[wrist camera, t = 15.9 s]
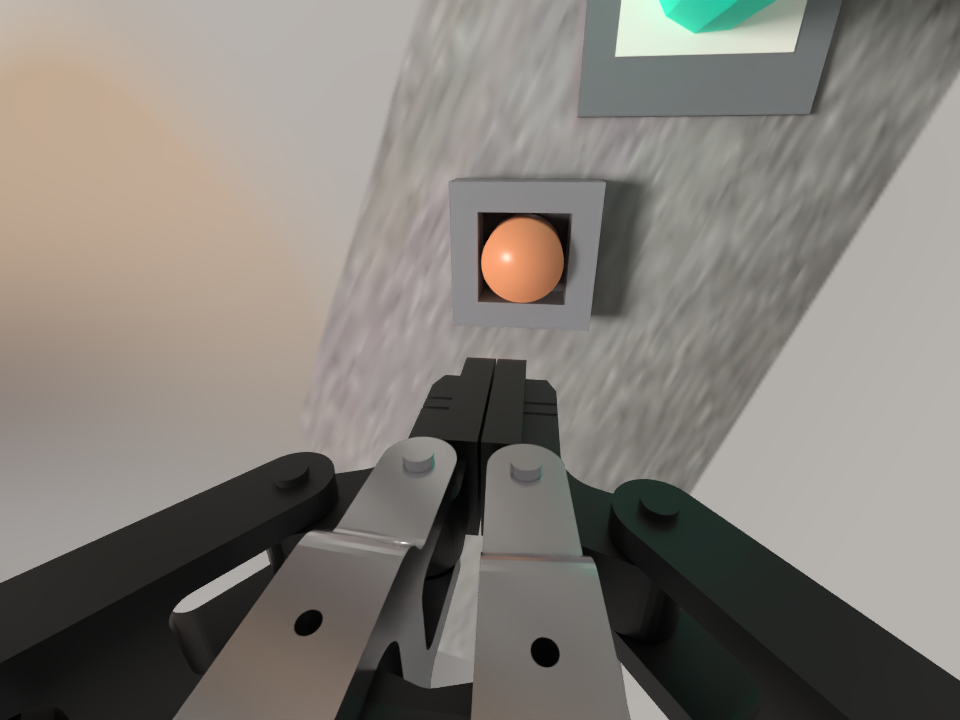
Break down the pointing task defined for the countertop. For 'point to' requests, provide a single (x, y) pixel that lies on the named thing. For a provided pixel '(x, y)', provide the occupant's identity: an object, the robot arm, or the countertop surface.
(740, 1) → the candle
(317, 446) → the countertop surface
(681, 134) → the countertop surface
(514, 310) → the button box
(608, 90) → the grey flat plate
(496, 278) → the button
